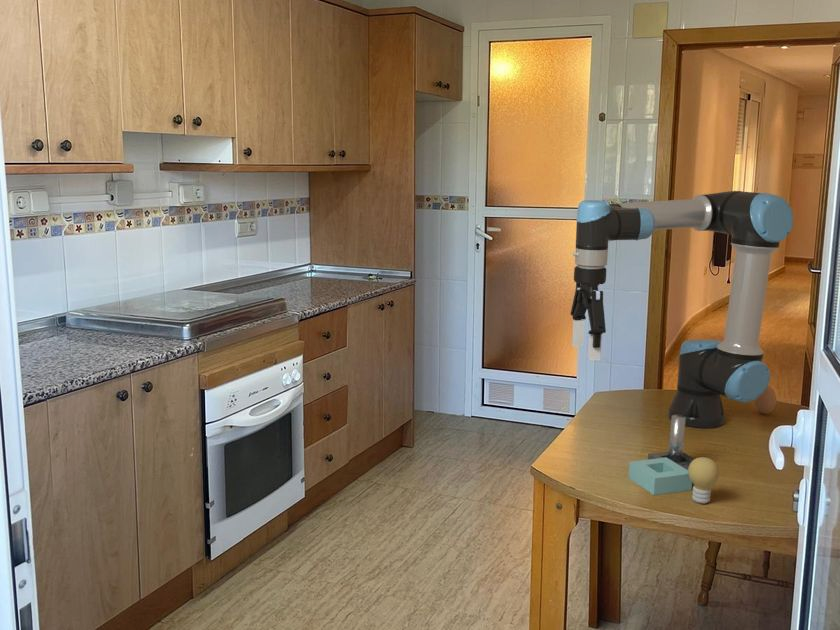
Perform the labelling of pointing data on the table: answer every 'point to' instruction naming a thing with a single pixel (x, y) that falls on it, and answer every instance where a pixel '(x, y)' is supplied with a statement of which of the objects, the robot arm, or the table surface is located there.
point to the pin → (676, 438)
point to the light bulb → (702, 478)
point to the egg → (766, 401)
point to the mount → (685, 458)
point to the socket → (660, 476)
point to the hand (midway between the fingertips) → (585, 353)
